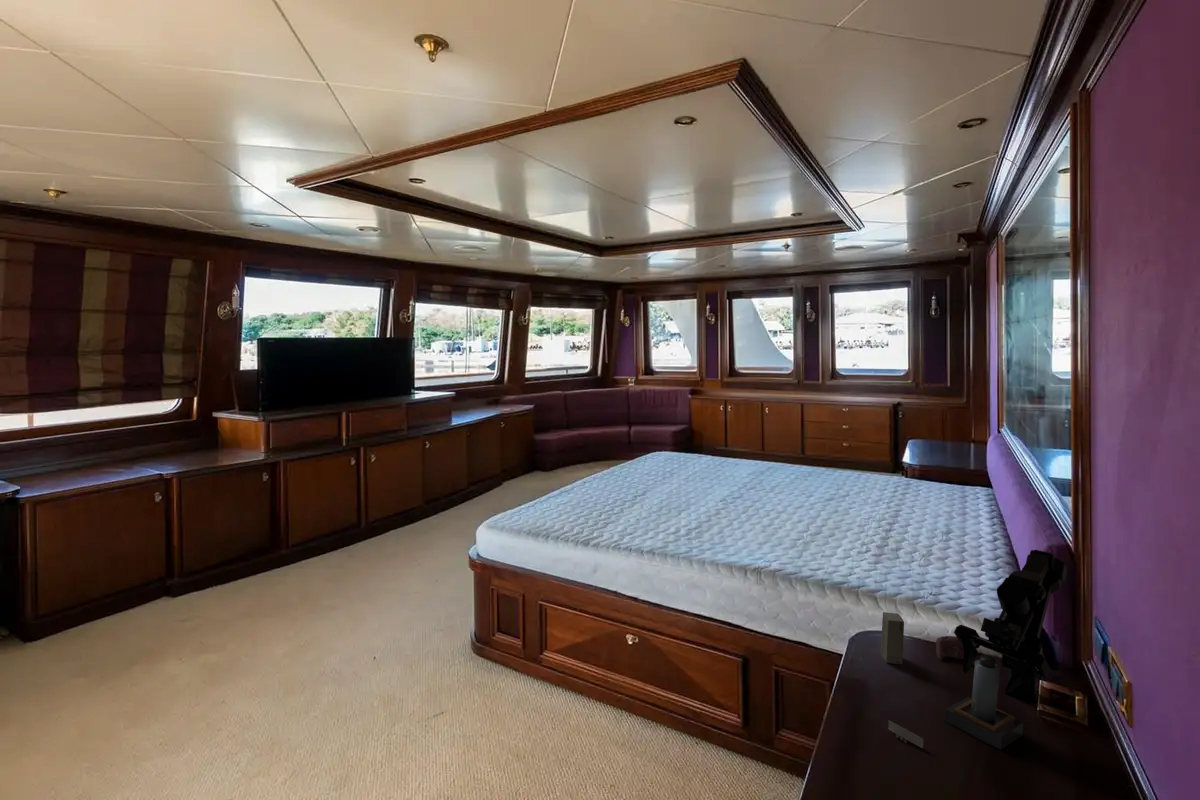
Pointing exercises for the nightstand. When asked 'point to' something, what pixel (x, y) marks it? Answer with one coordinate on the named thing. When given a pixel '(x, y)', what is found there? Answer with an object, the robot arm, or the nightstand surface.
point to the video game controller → (945, 644)
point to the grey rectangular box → (985, 724)
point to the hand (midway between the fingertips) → (985, 681)
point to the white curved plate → (905, 734)
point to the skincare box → (892, 638)
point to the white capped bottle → (985, 688)
